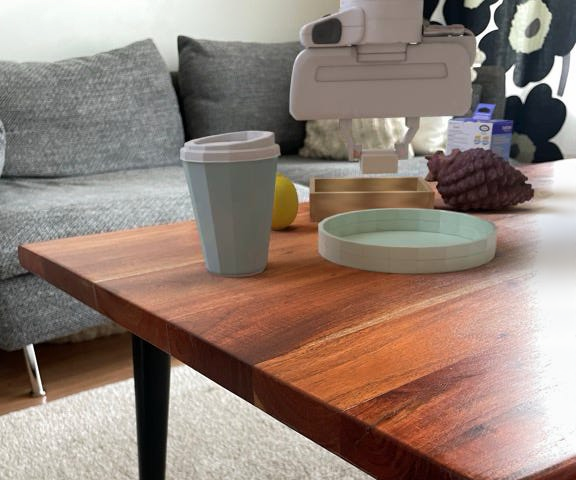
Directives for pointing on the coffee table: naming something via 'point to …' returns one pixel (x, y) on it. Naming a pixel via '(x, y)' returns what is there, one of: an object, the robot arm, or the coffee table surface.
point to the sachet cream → (378, 161)
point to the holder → (366, 195)
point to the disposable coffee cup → (233, 198)
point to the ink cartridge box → (480, 133)
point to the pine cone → (477, 180)
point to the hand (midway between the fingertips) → (377, 159)
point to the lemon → (284, 203)
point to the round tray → (407, 240)
